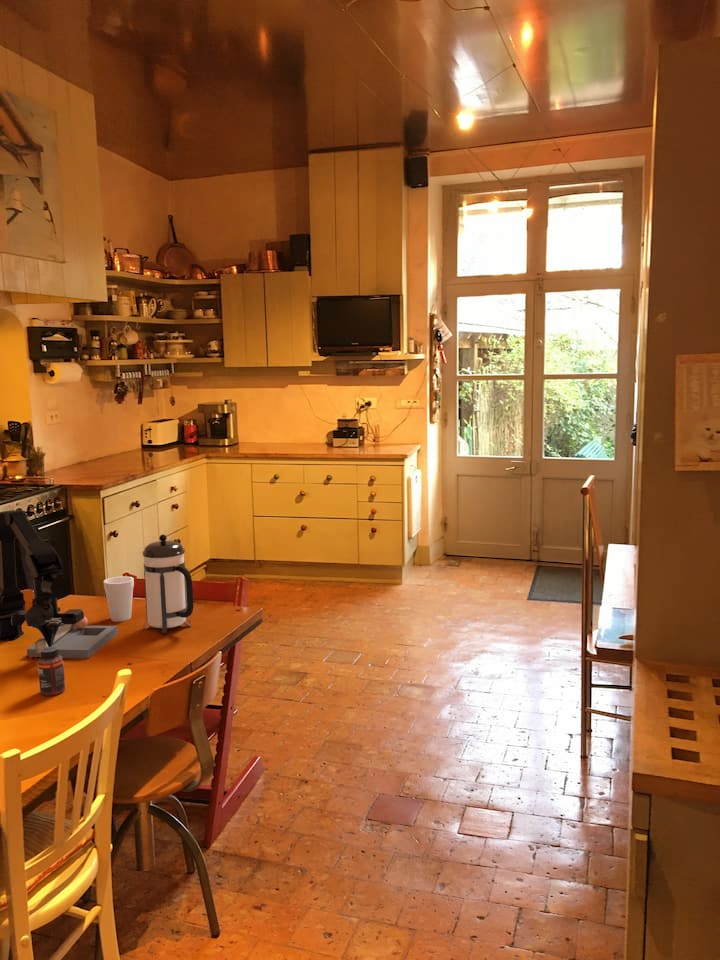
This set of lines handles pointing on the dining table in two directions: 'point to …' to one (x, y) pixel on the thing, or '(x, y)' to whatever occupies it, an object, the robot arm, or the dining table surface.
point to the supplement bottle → (51, 672)
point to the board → (80, 642)
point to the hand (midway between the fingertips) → (50, 646)
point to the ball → (82, 623)
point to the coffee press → (167, 585)
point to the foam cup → (119, 597)
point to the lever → (60, 632)
